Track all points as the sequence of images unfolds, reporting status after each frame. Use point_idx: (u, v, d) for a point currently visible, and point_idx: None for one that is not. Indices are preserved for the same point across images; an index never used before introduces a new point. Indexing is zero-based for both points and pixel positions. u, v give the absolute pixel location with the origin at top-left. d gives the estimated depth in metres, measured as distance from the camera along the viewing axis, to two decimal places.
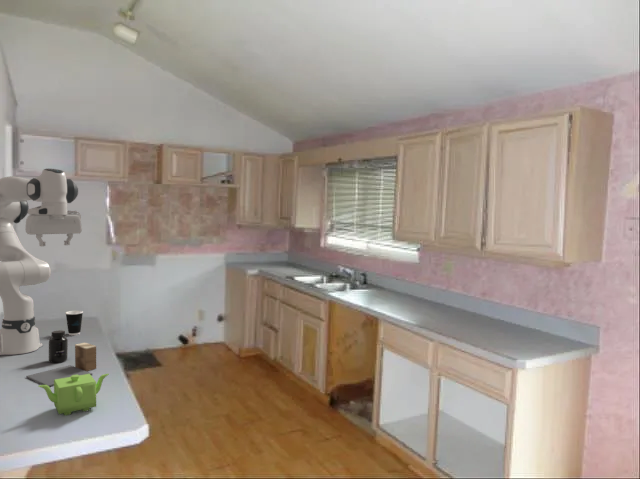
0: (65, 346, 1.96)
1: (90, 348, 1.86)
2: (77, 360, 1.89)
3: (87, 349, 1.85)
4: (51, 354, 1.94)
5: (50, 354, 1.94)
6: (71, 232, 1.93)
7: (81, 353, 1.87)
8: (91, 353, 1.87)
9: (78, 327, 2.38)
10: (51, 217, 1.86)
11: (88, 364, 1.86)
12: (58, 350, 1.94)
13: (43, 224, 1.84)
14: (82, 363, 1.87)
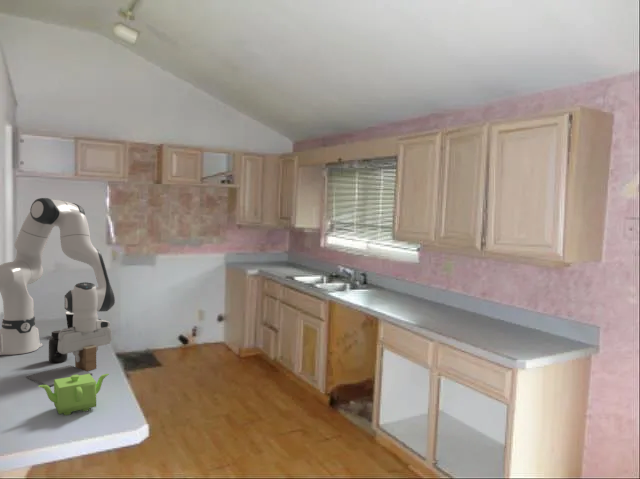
0: None
1: (90, 348, 1.86)
2: None
3: (87, 349, 1.85)
4: (51, 354, 1.94)
5: (50, 354, 1.94)
6: None
7: (81, 353, 1.87)
8: (91, 353, 1.87)
9: None
10: None
11: (88, 364, 1.86)
12: None
13: None
14: (82, 363, 1.87)
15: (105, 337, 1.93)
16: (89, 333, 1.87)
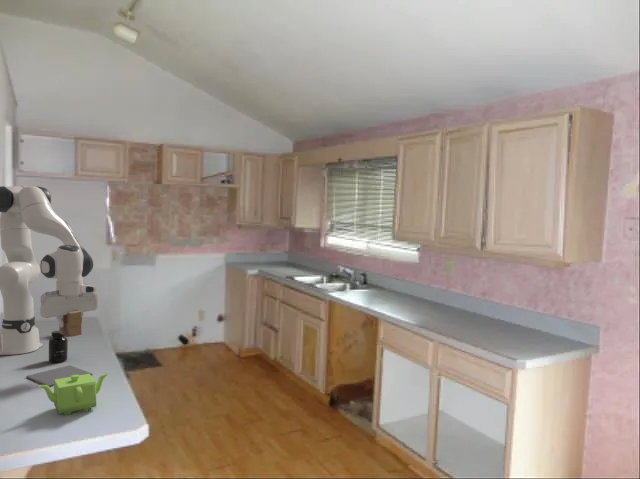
0: (65, 346, 1.96)
1: (75, 313, 1.79)
2: None
3: (71, 314, 1.78)
4: (51, 354, 1.94)
5: (50, 354, 1.94)
6: None
7: (65, 318, 1.79)
8: (76, 318, 1.79)
9: None
10: None
11: (72, 329, 1.78)
12: (58, 350, 1.94)
13: None
14: (66, 328, 1.79)
15: (90, 303, 1.86)
16: (73, 297, 1.79)
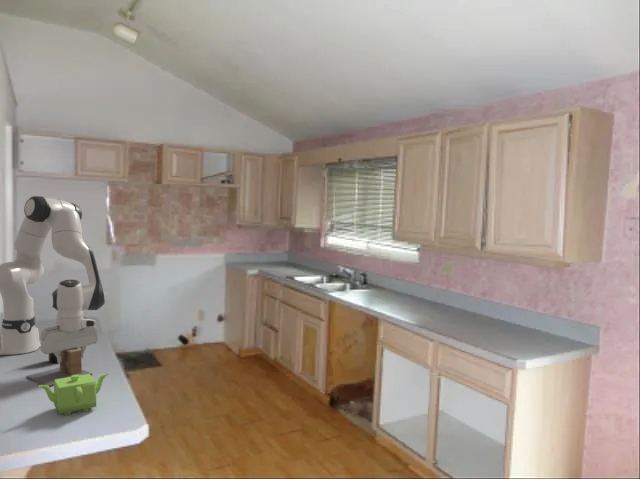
0: None
1: (75, 351, 1.79)
2: (62, 364, 1.82)
3: (72, 352, 1.79)
4: (51, 354, 1.94)
5: (50, 354, 1.94)
6: None
7: (66, 356, 1.80)
8: (76, 356, 1.80)
9: None
10: None
11: (72, 368, 1.79)
12: None
13: None
14: (67, 367, 1.80)
15: (90, 336, 1.86)
16: (74, 332, 1.80)
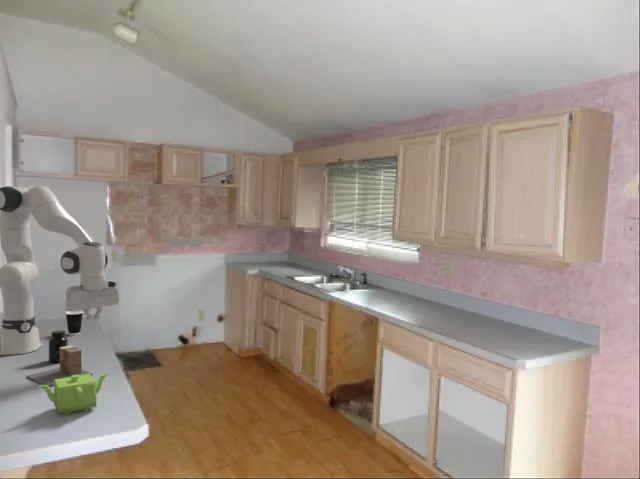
0: None
1: (75, 351, 1.79)
2: (62, 364, 1.82)
3: (72, 352, 1.79)
4: (51, 354, 1.94)
5: (50, 354, 1.94)
6: None
7: (66, 356, 1.80)
8: (76, 356, 1.80)
9: (78, 327, 2.38)
10: None
11: (72, 368, 1.79)
12: (58, 350, 1.94)
13: None
14: (67, 367, 1.80)
15: (112, 297, 1.93)
16: (97, 292, 1.86)
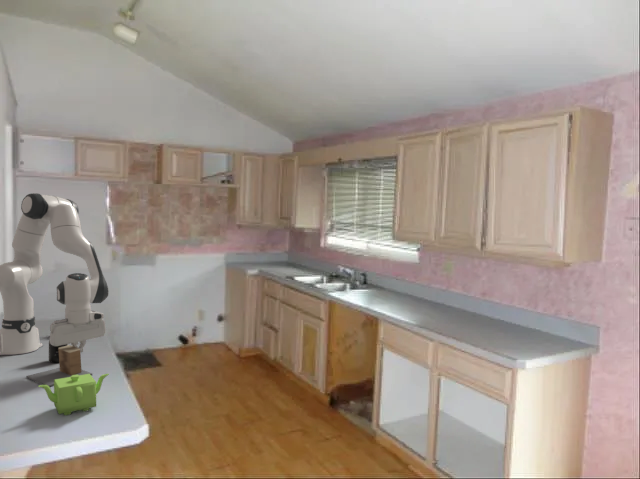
0: None
1: (74, 351, 1.79)
2: (61, 364, 1.82)
3: (71, 353, 1.78)
4: (51, 354, 1.94)
5: (50, 354, 1.94)
6: None
7: (65, 357, 1.80)
8: (75, 356, 1.80)
9: None
10: None
11: (72, 368, 1.79)
12: (58, 350, 1.94)
13: None
14: (66, 367, 1.80)
15: (98, 329, 1.89)
16: (82, 325, 1.82)
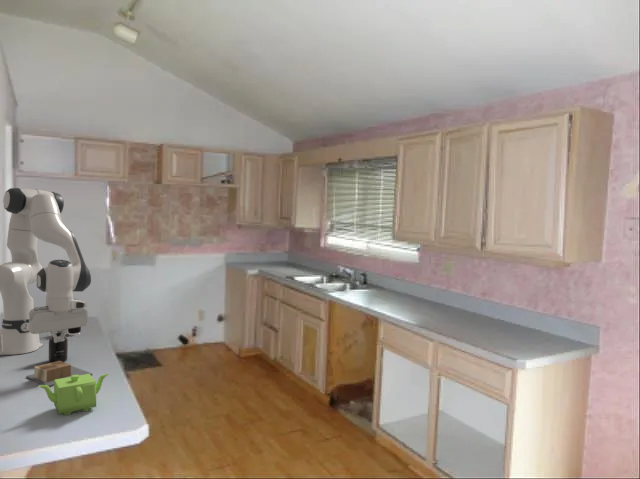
0: (65, 346, 1.96)
1: (46, 377, 1.71)
2: None
3: (47, 380, 1.72)
4: (51, 354, 1.94)
5: (50, 354, 1.94)
6: None
7: None
8: (52, 374, 1.73)
9: (78, 327, 2.38)
10: None
11: (64, 375, 1.76)
12: (58, 350, 1.94)
13: None
14: None
15: (80, 318, 1.83)
16: (63, 313, 1.76)
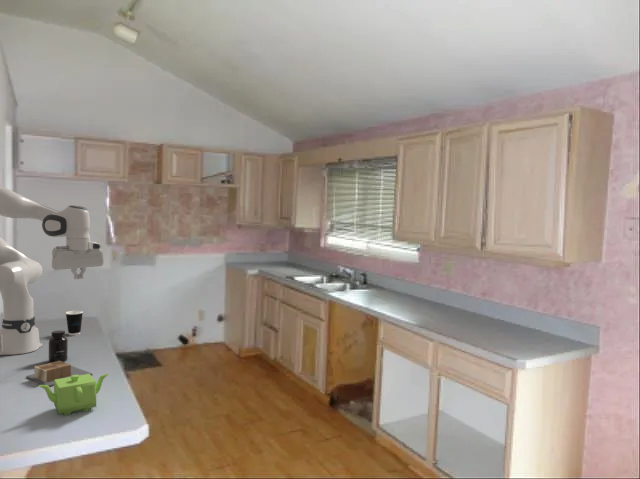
0: (65, 346, 1.96)
1: (46, 377, 1.71)
2: None
3: (47, 380, 1.72)
4: (51, 354, 1.94)
5: (50, 354, 1.94)
6: None
7: None
8: (52, 374, 1.73)
9: (78, 327, 2.38)
10: None
11: (64, 375, 1.76)
12: (58, 350, 1.94)
13: None
14: None
15: (97, 259, 2.04)
16: (82, 252, 1.97)
